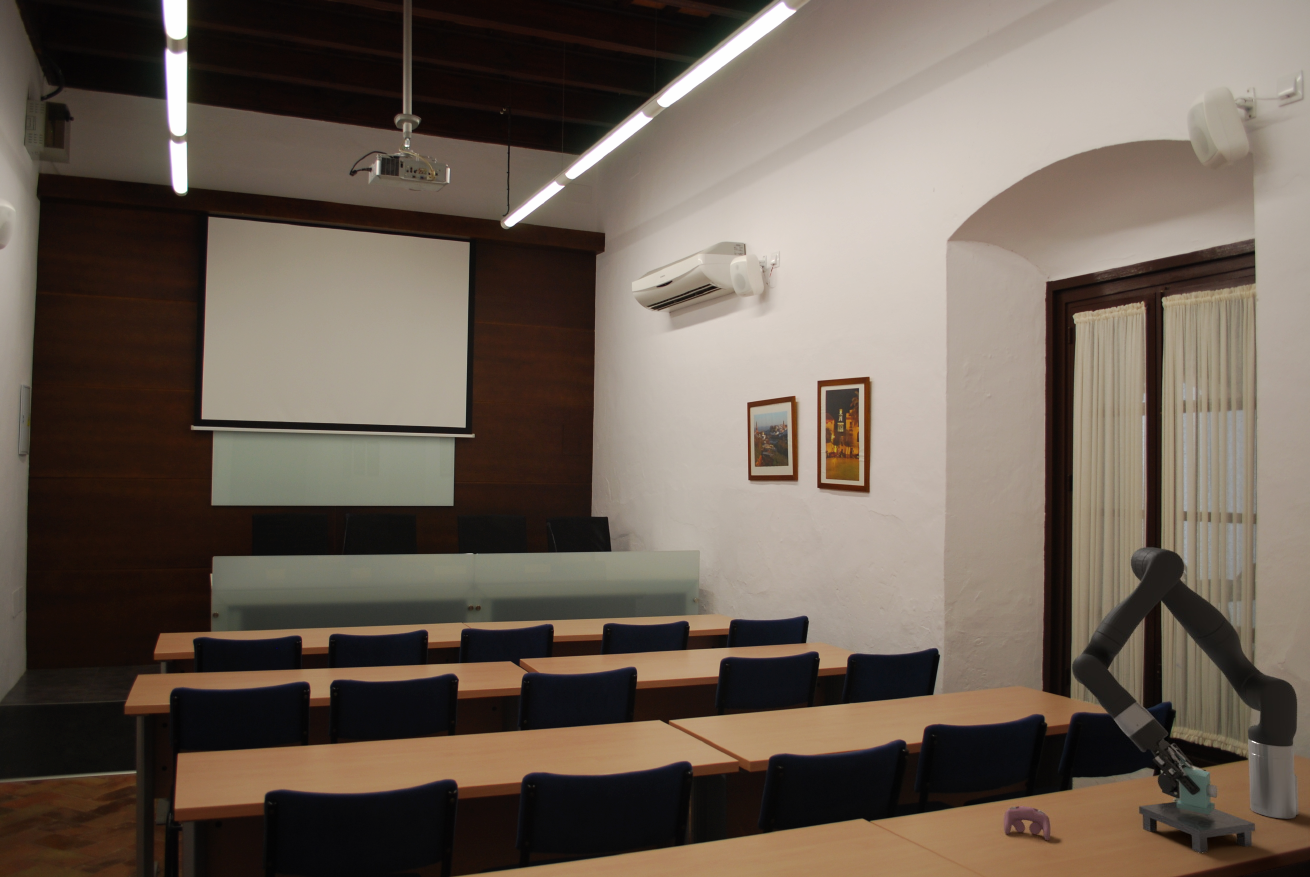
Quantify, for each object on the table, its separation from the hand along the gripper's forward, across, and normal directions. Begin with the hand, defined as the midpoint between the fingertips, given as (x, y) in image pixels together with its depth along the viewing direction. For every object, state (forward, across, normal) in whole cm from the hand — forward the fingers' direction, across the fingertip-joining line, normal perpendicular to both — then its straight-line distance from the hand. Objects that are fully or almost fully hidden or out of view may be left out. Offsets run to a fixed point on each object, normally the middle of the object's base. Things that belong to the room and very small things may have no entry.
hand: (1199, 789), depth 202 cm
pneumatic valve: (+3, +16, +12) cm, 20 cm away
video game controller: (-13, -26, +29) cm, 41 cm away
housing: (+2, 0, +4) cm, 4 cm away
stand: (+7, 0, +8) cm, 11 cm away
